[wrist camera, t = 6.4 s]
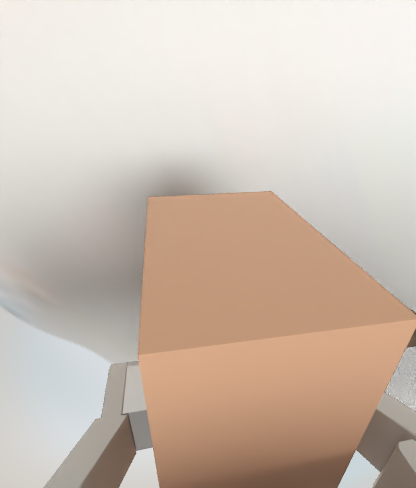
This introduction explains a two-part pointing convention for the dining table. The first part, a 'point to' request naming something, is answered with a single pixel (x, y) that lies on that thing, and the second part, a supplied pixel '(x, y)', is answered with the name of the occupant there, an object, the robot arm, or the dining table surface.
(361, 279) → the terracotta block
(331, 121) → the dining table surface
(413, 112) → the dining table surface
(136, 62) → the dining table surface
